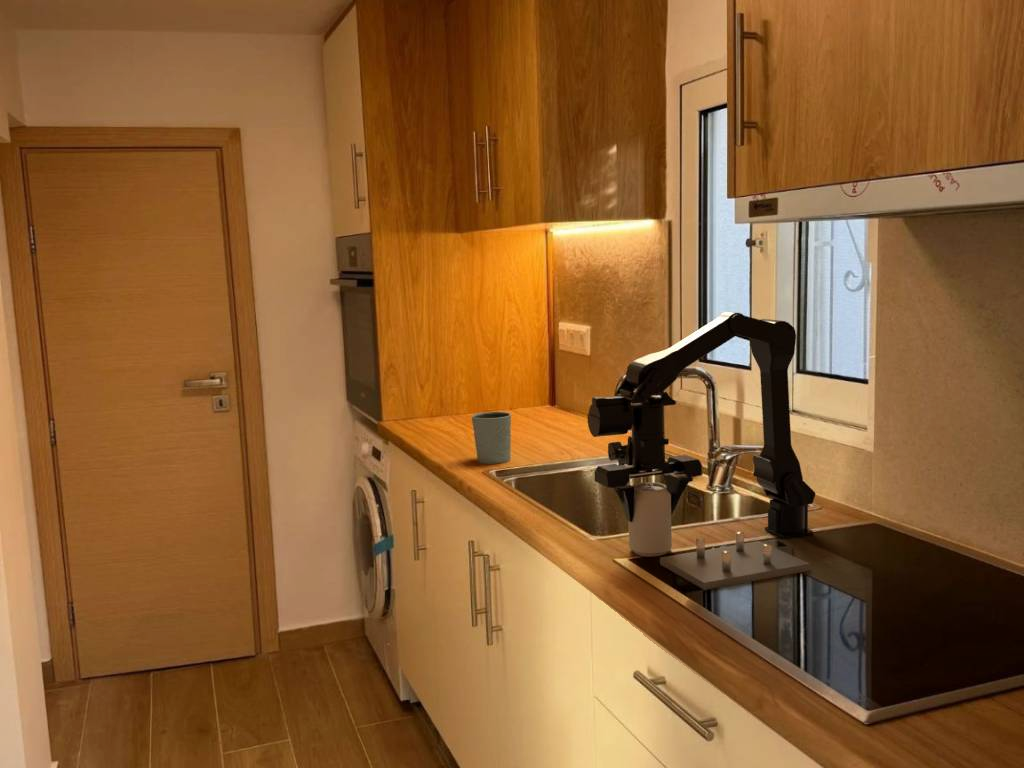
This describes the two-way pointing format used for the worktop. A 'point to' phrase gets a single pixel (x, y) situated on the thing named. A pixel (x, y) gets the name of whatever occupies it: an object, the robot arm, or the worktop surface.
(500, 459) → the grey-blue cup
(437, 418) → the worktop surface
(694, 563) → the pin tray
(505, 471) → the worktop surface
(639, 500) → the can
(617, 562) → the worktop surface
